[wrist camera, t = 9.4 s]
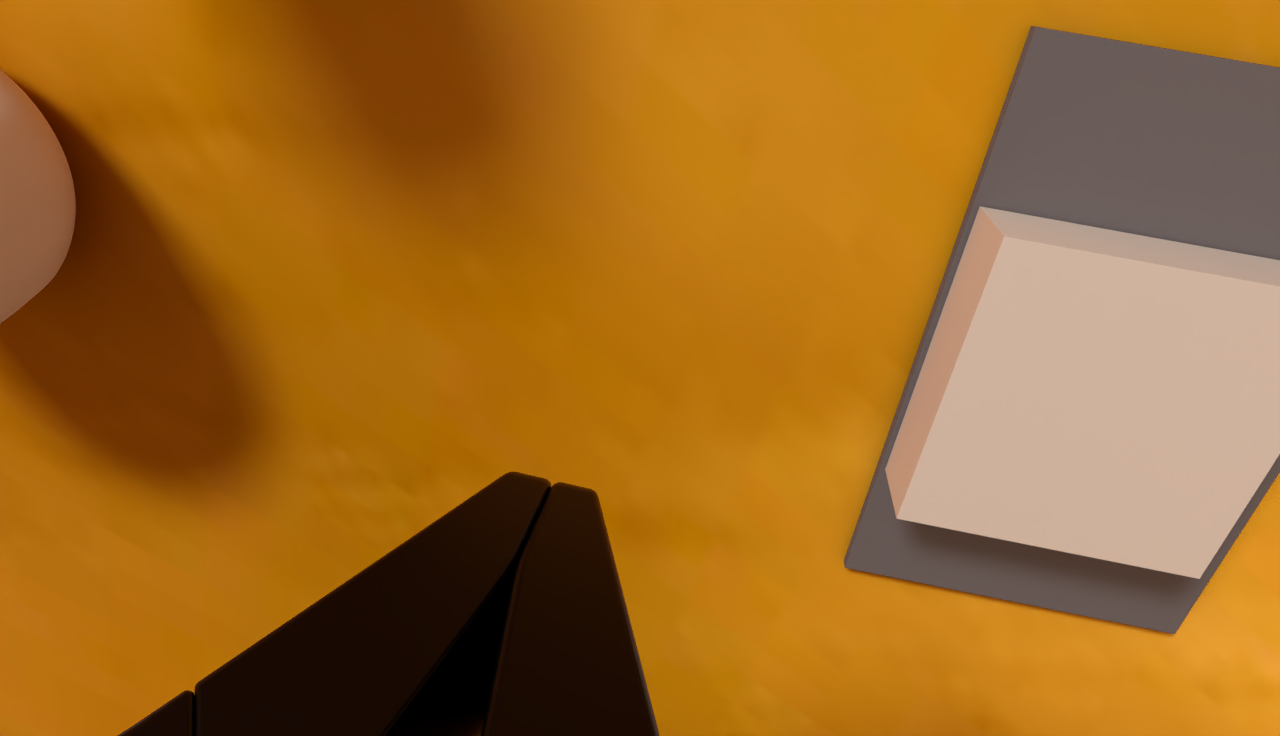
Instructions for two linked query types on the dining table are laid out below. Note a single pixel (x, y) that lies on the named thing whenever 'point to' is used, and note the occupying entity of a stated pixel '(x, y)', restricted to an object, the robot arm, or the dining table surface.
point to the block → (1094, 394)
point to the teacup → (30, 200)
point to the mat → (1116, 200)
